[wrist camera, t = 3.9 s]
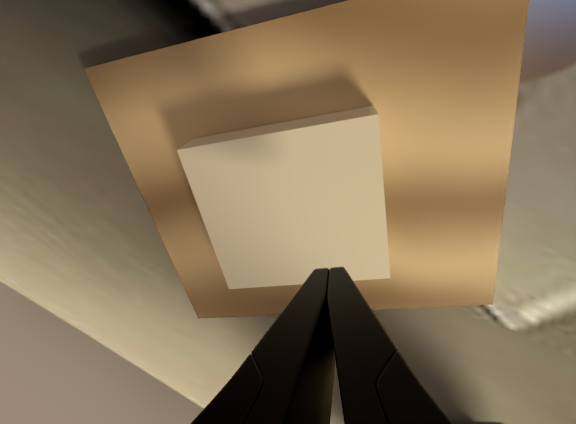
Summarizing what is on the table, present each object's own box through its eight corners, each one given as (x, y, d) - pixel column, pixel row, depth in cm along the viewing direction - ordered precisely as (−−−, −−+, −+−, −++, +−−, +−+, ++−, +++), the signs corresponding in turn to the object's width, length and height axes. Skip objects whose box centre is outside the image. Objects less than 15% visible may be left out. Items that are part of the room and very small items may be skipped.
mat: (487, 295, 16) (492, 304, 15) (201, 310, 19) (198, 318, 19) (524, -44, 10) (534, -48, 9) (93, 67, 13) (83, 68, 13)
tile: (390, 278, 14) (229, 289, 15) (385, 255, 15) (238, 267, 17) (378, 114, 10) (176, 150, 12) (373, 105, 12) (193, 138, 13)
